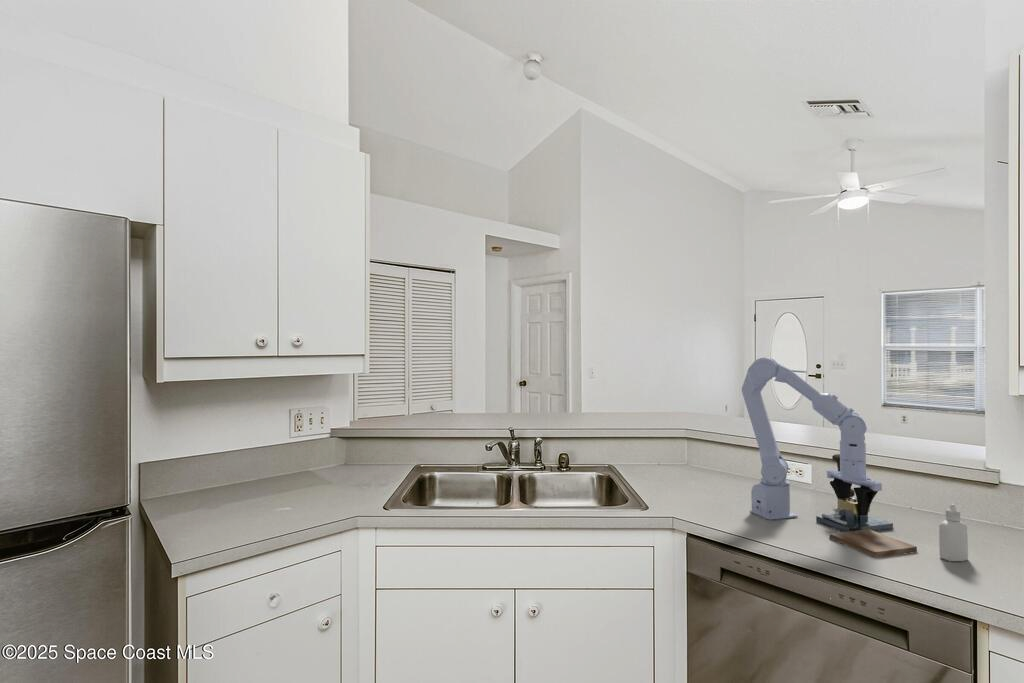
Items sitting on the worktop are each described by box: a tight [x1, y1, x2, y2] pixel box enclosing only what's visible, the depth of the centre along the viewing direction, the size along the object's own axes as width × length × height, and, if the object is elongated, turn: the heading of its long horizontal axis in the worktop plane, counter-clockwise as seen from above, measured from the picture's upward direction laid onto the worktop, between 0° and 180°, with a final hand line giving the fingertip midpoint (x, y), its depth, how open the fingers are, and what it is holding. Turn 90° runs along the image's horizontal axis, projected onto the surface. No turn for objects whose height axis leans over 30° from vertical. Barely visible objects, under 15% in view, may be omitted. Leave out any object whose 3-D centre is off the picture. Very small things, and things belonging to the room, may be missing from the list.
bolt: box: [832, 453, 856, 497], centre depth 151 cm, size 6×5×15 cm
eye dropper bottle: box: [938, 503, 969, 562], centre depth 114 cm, size 4×6×12 cm
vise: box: [815, 497, 894, 532], centre depth 136 cm, size 14×10×7 cm
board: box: [829, 529, 918, 559], centre depth 122 cm, size 12×12×1 cm
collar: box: [837, 496, 871, 514], centre depth 136 cm, size 5×5×2 cm
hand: (853, 511), depth 136 cm, fingers closed on collar, 5 cm apart
